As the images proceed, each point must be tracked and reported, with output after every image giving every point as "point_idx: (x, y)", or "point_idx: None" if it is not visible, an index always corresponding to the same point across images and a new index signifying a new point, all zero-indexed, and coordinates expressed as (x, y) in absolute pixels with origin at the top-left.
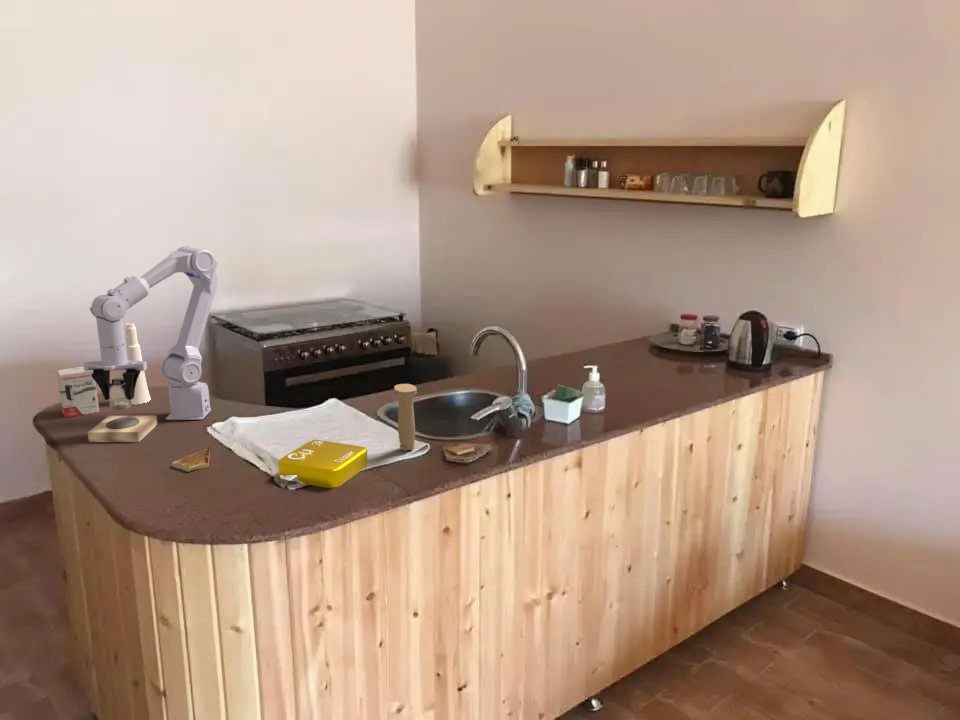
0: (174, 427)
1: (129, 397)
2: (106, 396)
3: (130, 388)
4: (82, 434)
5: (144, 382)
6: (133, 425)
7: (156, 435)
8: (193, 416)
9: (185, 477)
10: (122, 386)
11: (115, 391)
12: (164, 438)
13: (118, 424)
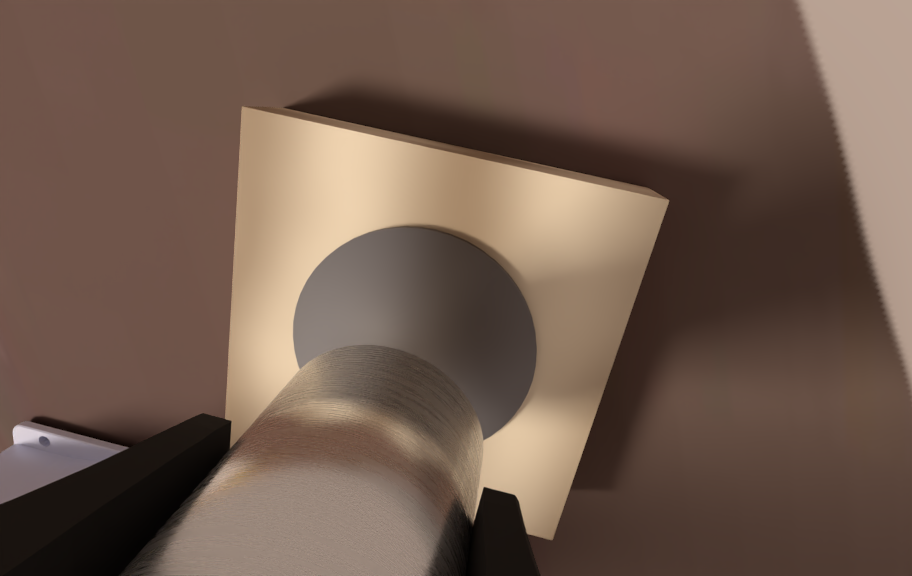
0: (140, 342)
1: (184, 424)
2: (486, 514)
3: (28, 495)
4: (713, 368)
5: None
6: (315, 270)
7: (203, 219)
8: (64, 458)
9: None
10: (138, 570)
11: (296, 498)
12: (130, 143)
13: (434, 312)
